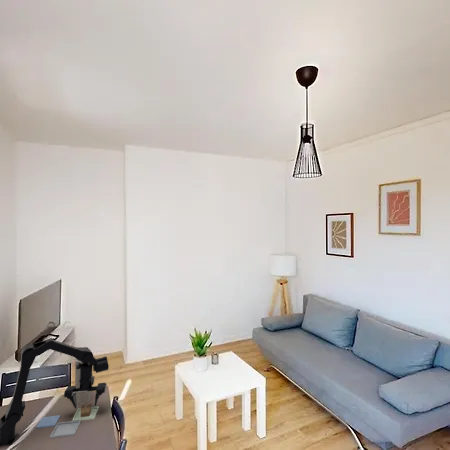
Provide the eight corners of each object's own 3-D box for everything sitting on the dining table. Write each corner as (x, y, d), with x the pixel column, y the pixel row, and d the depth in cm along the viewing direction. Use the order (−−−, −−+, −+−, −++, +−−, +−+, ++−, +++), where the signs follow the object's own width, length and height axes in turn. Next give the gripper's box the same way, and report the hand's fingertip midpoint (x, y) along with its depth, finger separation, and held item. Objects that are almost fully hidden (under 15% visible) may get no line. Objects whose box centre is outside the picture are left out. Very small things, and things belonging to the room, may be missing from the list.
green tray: (94, 419, 146) (94, 417, 146) (72, 422, 144) (72, 420, 144) (98, 408, 156) (98, 406, 156) (78, 410, 154) (78, 408, 154)
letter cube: (89, 416, 149) (89, 407, 149) (80, 417, 148) (80, 408, 148) (91, 411, 153) (91, 403, 153) (82, 412, 152) (82, 404, 152)
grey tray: (74, 436, 134) (74, 433, 134) (49, 439, 132) (49, 436, 133) (80, 422, 144) (80, 420, 144) (57, 425, 142) (57, 422, 142)
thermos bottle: (80, 396, 168) (80, 345, 170) (94, 396, 168) (94, 345, 169) (71, 404, 160) (72, 350, 162) (86, 404, 160) (86, 351, 161)
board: (54, 427, 141) (54, 424, 141) (35, 429, 140) (35, 427, 140) (60, 417, 149) (60, 415, 149) (42, 419, 147) (42, 417, 147)
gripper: (108, 366, 161) (108, 396, 160) (70, 370, 157) (70, 400, 156) (104, 376, 150) (104, 408, 149) (63, 380, 146) (63, 412, 146)
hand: (85, 407), depth 150 cm, fingers open, 9 cm apart
